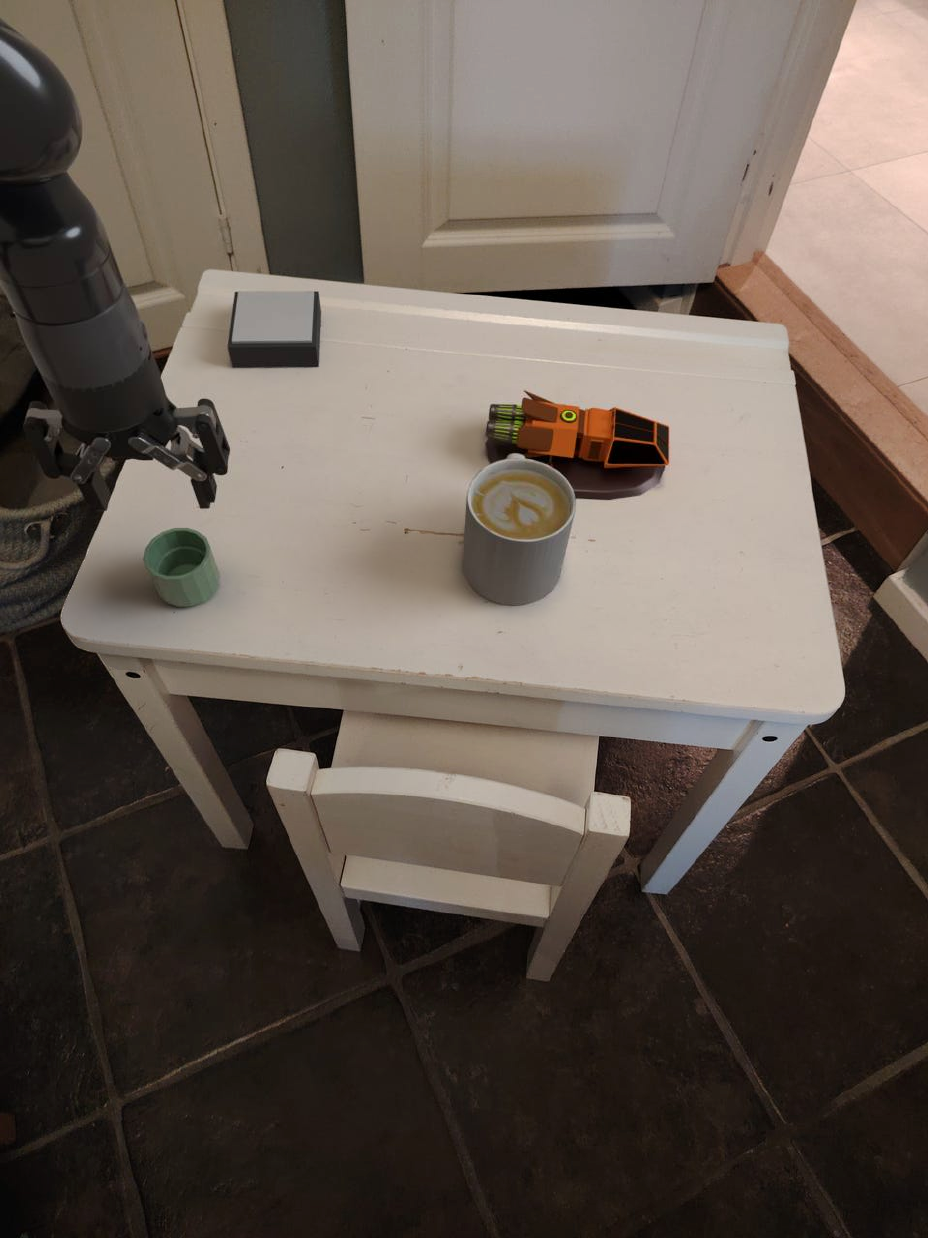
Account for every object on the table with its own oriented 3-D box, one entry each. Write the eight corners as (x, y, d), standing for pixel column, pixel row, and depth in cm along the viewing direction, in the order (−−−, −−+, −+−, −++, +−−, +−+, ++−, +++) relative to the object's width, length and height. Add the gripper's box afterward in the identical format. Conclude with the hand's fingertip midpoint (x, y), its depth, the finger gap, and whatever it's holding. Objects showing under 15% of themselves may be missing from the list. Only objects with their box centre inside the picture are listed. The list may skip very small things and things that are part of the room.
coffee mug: (553, 614, 81) (569, 551, 72) (453, 595, 81) (456, 530, 73) (571, 510, 88) (587, 441, 79) (478, 493, 89) (484, 424, 80)
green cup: (154, 610, 79) (139, 579, 75) (162, 560, 82) (148, 528, 78) (217, 608, 79) (206, 578, 75) (223, 558, 83) (212, 526, 78)
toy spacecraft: (665, 510, 88) (681, 467, 83) (478, 485, 89) (481, 441, 84) (665, 426, 95) (680, 382, 90) (491, 404, 96) (496, 359, 90)
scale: (232, 367, 97) (226, 343, 95) (239, 312, 103) (234, 288, 100) (318, 366, 98) (315, 343, 95) (321, 312, 103) (318, 288, 101)
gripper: (-30, 386, 55) (61, 539, 69) (190, 383, 56) (237, 534, 70) (-3, 313, 59) (78, 471, 73) (202, 311, 60) (244, 467, 74)
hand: (156, 502), depth 71 cm, fingers open, 8 cm apart
